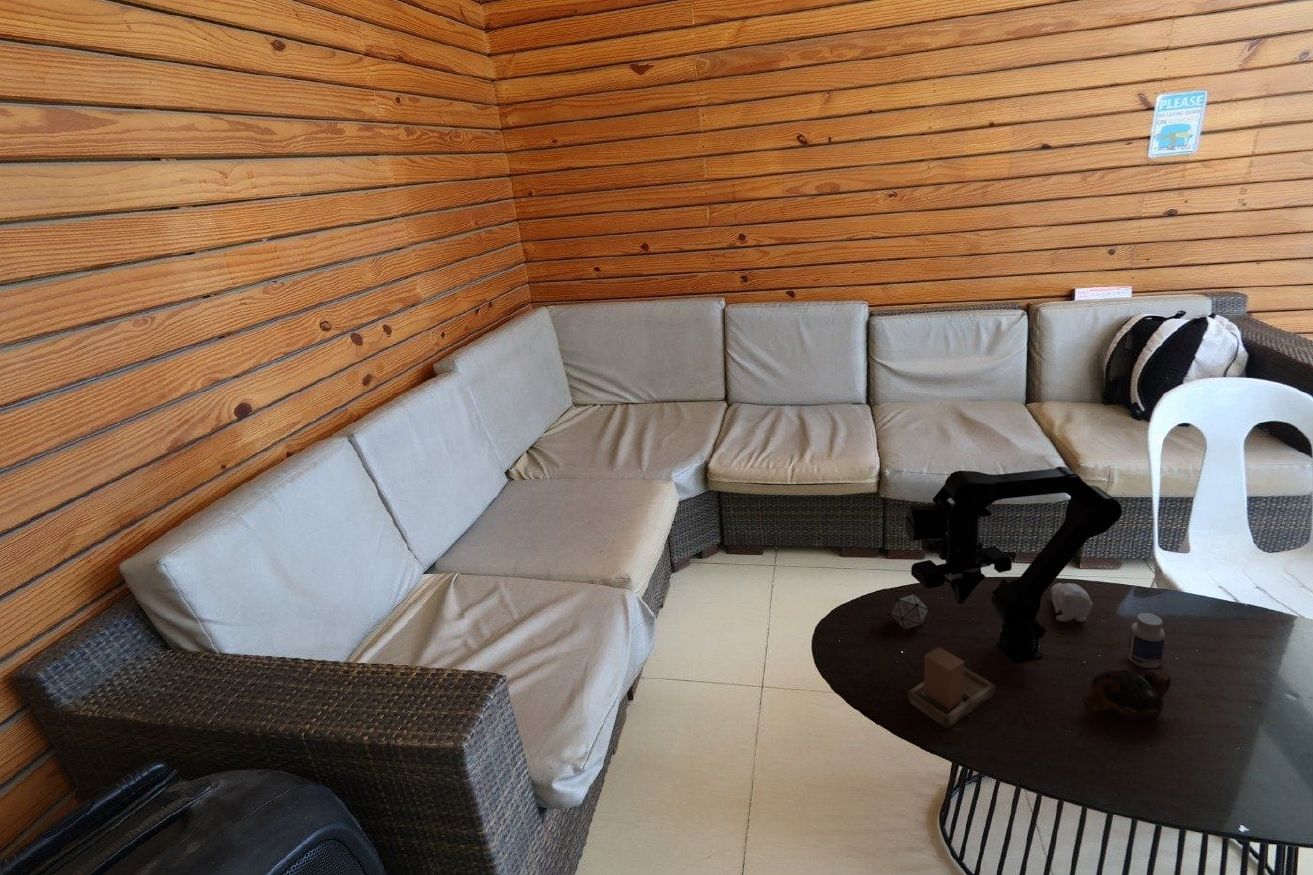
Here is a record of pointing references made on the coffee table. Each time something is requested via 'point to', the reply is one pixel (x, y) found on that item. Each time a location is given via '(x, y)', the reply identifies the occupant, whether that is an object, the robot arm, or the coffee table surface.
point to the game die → (909, 611)
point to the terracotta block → (943, 677)
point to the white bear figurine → (1071, 601)
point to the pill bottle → (1146, 641)
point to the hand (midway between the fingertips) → (959, 602)
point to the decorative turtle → (1128, 694)
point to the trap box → (973, 696)
